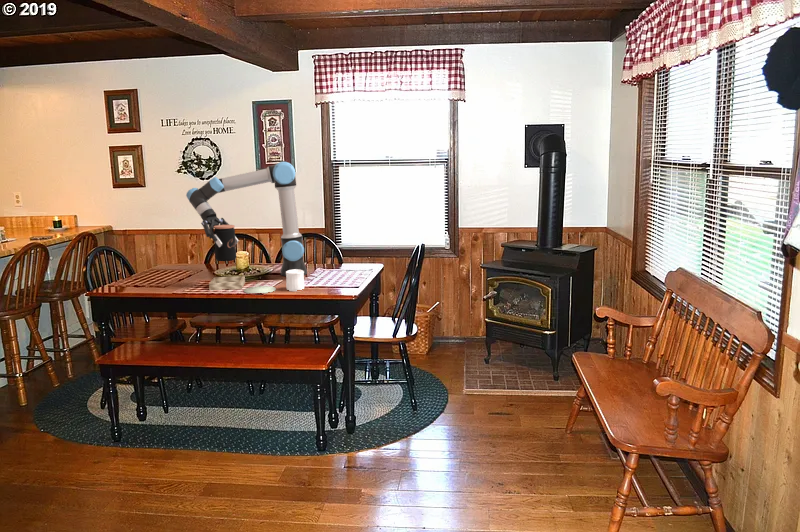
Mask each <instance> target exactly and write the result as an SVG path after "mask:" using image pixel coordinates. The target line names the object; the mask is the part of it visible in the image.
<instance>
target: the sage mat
mask: <svg viewBox="0 0 800 532" xmlns="http://www.w3.org/2000/svg"><path fill="white" fill-rule="evenodd" d="M276 290H277V288H276V287H275V286H268V285H257V286H252V287H251V286H250V287H247V288H244V289H243V292H244V293H245V292H246V293H245V294H249V293H264V294H269V293H268V292H270V293H273V291H274V292H276Z"/></svg>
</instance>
